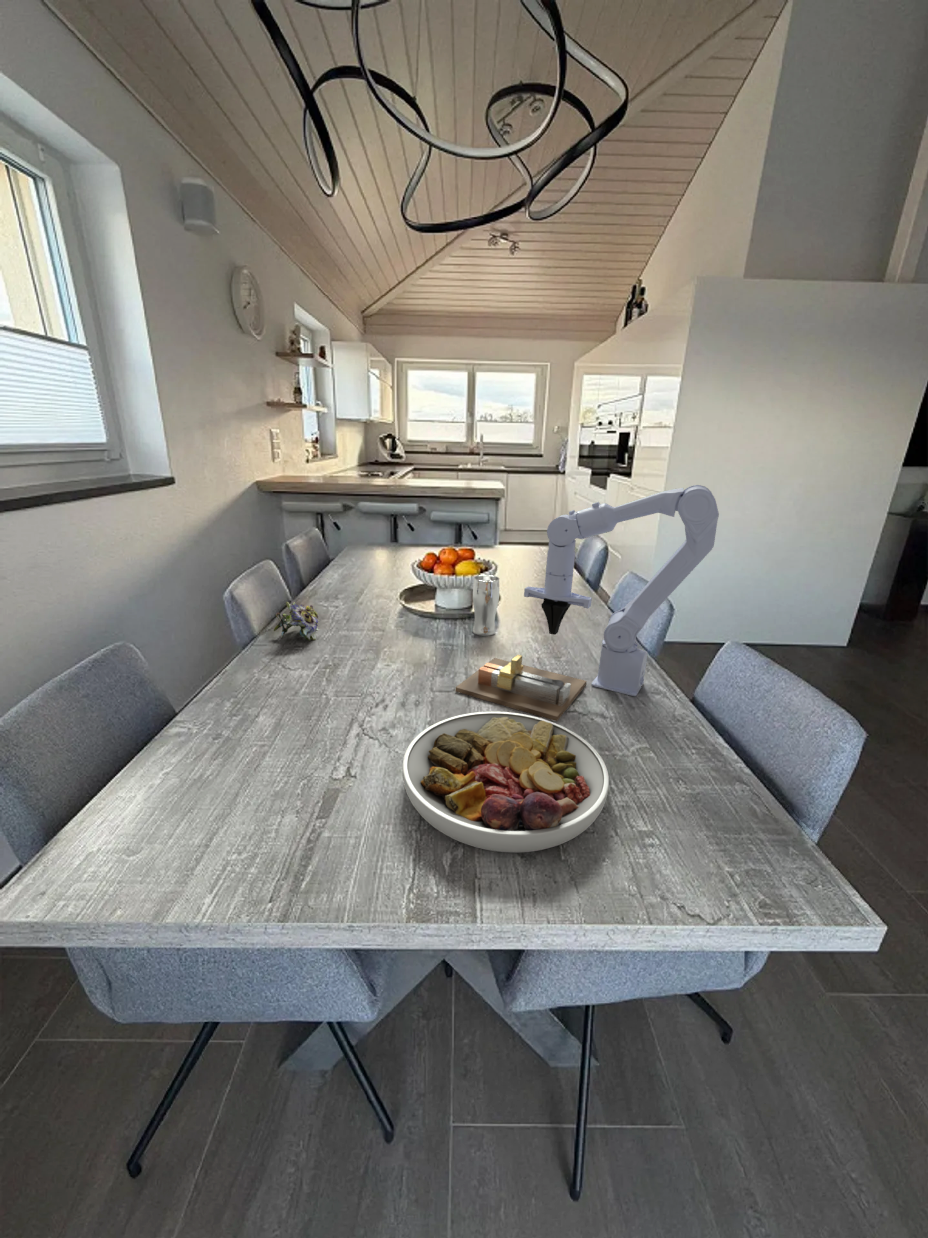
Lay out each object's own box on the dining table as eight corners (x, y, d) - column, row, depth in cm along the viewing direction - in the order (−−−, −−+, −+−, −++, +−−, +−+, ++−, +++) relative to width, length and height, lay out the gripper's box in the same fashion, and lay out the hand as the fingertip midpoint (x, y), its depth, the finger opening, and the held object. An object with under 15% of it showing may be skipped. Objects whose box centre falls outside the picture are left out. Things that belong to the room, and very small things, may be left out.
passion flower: (313, 659, 134) (316, 633, 125) (268, 653, 132) (268, 626, 123) (320, 623, 141) (323, 596, 132) (277, 617, 139) (277, 589, 129)
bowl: (383, 752, 88) (382, 710, 85) (543, 725, 98) (547, 686, 95) (436, 893, 61) (438, 839, 59) (649, 836, 71) (658, 788, 69)
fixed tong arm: (569, 698, 105) (570, 683, 104) (562, 706, 102) (563, 691, 101) (487, 675, 114) (488, 662, 113) (478, 683, 110) (478, 669, 109)
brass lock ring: (522, 679, 110) (524, 653, 108) (510, 690, 105) (512, 663, 103) (509, 676, 111) (510, 650, 109) (497, 686, 107) (498, 660, 105)
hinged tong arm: (563, 695, 106) (565, 681, 105) (559, 700, 104) (561, 686, 103) (487, 674, 114) (488, 661, 113) (482, 679, 112) (483, 665, 111)
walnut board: (586, 685, 113) (586, 680, 113) (557, 721, 98) (557, 716, 98) (494, 661, 123) (494, 657, 123) (455, 691, 108) (455, 687, 108)
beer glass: (487, 638, 137) (490, 583, 132) (465, 632, 141) (468, 578, 136) (502, 631, 142) (505, 577, 137) (481, 625, 146) (483, 573, 141)
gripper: (598, 574, 111) (591, 634, 116) (534, 564, 118) (530, 621, 123) (588, 581, 106) (581, 644, 110) (522, 570, 112) (517, 630, 117)
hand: (553, 633), depth 116 cm, fingers closed
